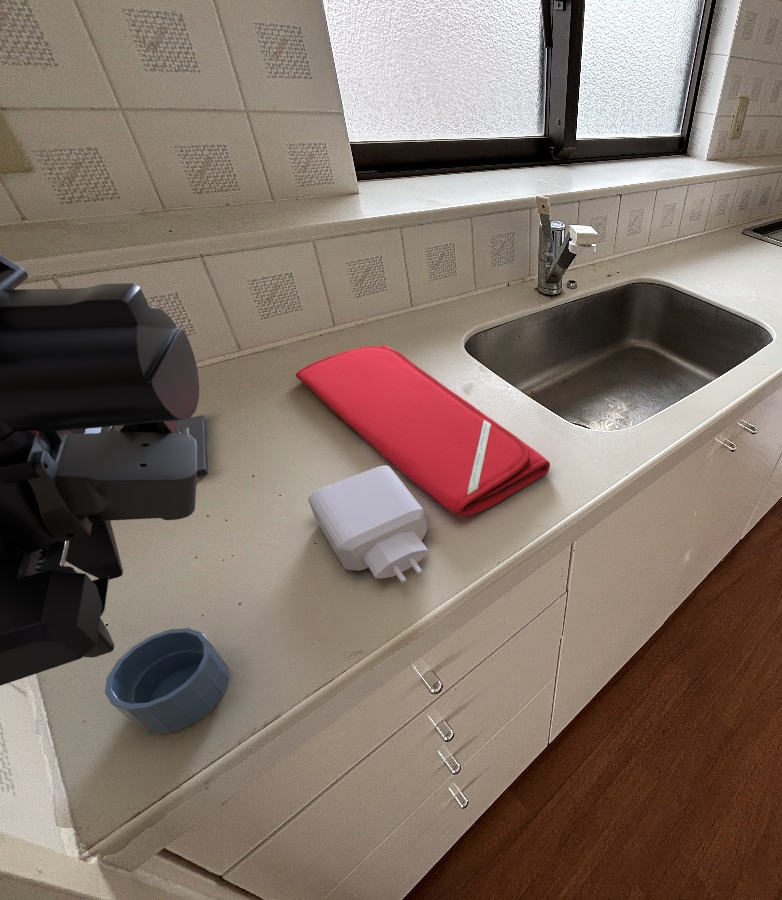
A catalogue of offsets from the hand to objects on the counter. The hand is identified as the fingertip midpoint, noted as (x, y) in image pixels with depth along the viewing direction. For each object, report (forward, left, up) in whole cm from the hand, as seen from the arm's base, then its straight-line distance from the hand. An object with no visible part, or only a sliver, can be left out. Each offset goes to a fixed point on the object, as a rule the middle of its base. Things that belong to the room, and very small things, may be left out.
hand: (109, 612), depth 34 cm
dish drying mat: (+27, +29, -13) cm, 42 cm away
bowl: (0, 0, -12) cm, 12 cm away
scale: (-4, +35, -12) cm, 37 cm away
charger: (+18, +9, -13) cm, 24 cm away
